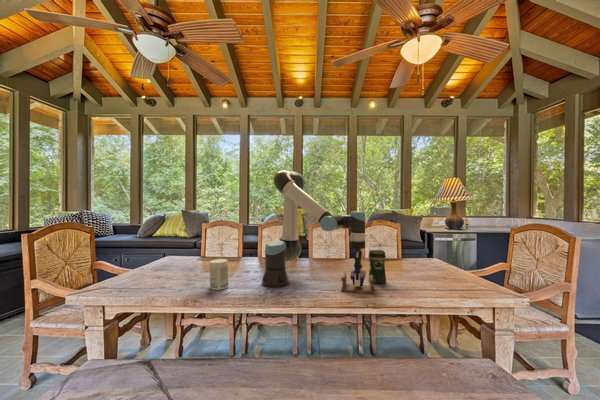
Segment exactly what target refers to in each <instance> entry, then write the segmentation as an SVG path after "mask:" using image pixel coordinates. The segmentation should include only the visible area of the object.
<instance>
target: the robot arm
mask: <svg viewBox="0 0 600 400" xmlns="http://www.w3.org/2000/svg"><path fill="white" fill-rule="evenodd" d="M273 184H274V187H275V188H276V189H277V190H278V191H279V192H280V193H281V194H282V195H283V207H282V209H283V210H282V212H283V213H282V230H281V231H282V234H281V236H280V237H279V240H273V241H270V242H268V243H266V244H265V248H264V255H265V257H264V267H265V268H264V273H263V276H262V279H261V284H262V285H263V286H264V287H267V288H281V287H286V286H287V285H289V283H290V281H289V276H288V272H287V269H286V268H287V267H286V265H287V262H289V261H293V260H295V259H296V258H298V257H299V256H300V255H301V252H302V245H301V244H300V241H299V237H298V236H297V226H298V225H297V224H298V209H299V208H298V206H299V207H300V208H301V209H302V210H304V211H305V212H306V213H307V214H308V215H309V216H311V217H312V218H313V219H314V220H316V222H318V223H319V225H320V227H321V229H322V231H324V232H333V231H336V230H340V229H348V230H349V229H350V240H351V241H350V248H351V249H354V251H353V258H354V264H355V267H354V270H355V271H354V272H353V273H355V286H360V262H361V261H362V254H363V252H362V249H365V248H366V241H365V240H366V237H367V234H366V212H364V211H357V210H353V211H351V212H350V214H338V213H337V214H336V213H334V214H332V213H331V212H329V211H328V210H327V209H326V208H325V207H324V206H322V205H321V204H320V203H319V202H317V201H316V200H315V199H314V198H313V197H311V196H310V195H309V193H307V192H305V191H304V190H303V188H304V186H305V177H304V176H303V175H302V174H301V173H299V172H297V171H292V170H284V169H283V170H279V171H278V172H276V174H275V175H274V177H273ZM361 263H362V262H361ZM356 270H357V271H356Z"/></svg>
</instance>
